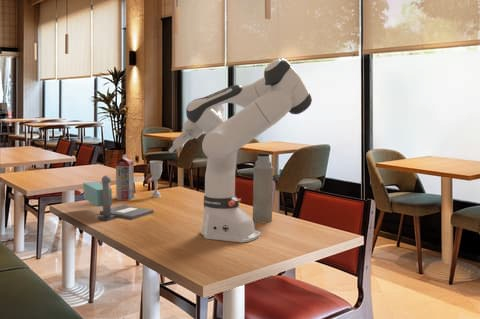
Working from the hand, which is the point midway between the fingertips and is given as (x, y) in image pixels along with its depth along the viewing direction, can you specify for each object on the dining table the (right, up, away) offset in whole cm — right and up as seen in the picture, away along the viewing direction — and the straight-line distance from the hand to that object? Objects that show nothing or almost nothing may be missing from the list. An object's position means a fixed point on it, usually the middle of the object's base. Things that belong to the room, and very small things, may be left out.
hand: (170, 151), depth 209 cm
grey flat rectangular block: (-18, -27, -1) cm, 33 cm away
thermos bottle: (+40, -29, -9) cm, 50 cm away
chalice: (-12, -23, +35) cm, 43 cm away
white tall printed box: (-27, -23, +29) cm, 46 cm away
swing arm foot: (-24, -28, -12) cm, 39 cm away
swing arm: (-30, -26, -3) cm, 40 cm away
